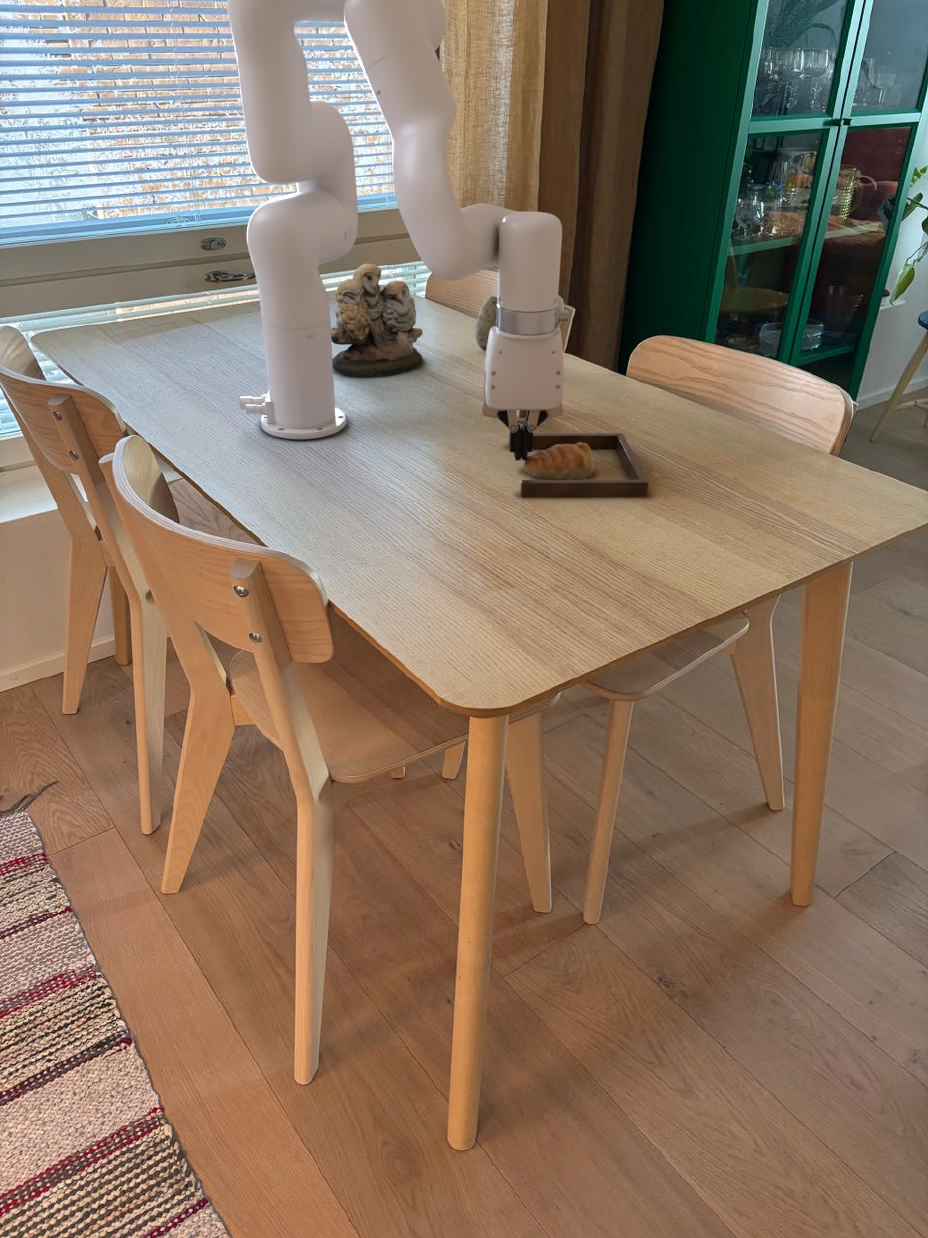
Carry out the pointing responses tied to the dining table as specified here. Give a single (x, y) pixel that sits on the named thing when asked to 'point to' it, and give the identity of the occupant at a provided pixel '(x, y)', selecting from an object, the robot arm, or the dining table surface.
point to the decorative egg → (486, 321)
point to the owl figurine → (374, 326)
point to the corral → (588, 487)
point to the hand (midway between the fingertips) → (520, 456)
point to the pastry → (562, 462)
